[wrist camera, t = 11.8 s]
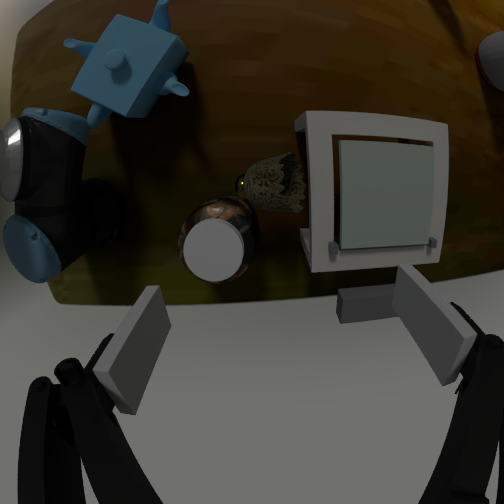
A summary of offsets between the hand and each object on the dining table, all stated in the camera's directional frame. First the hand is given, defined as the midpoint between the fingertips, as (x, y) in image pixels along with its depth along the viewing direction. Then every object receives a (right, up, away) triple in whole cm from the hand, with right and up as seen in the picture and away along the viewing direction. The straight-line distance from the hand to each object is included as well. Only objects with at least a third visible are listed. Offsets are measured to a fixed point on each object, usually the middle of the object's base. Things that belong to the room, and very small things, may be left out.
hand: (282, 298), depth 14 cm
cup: (-3, +11, +22) cm, 25 cm away
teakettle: (-21, +36, +25) cm, 48 cm away
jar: (-6, +7, +36) cm, 37 cm away
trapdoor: (+17, +5, +20) cm, 27 cm away
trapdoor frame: (+17, +15, +32) cm, 39 cm away
